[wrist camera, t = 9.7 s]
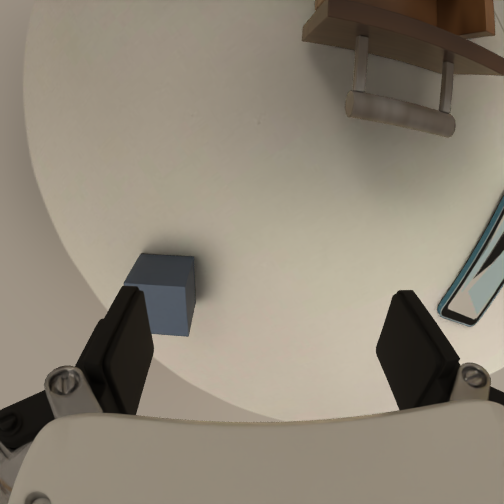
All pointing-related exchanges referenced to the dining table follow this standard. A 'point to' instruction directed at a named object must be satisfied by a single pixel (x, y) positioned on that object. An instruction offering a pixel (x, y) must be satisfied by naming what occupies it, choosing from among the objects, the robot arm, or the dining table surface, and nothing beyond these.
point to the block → (166, 291)
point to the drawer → (408, 50)
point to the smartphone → (478, 277)
